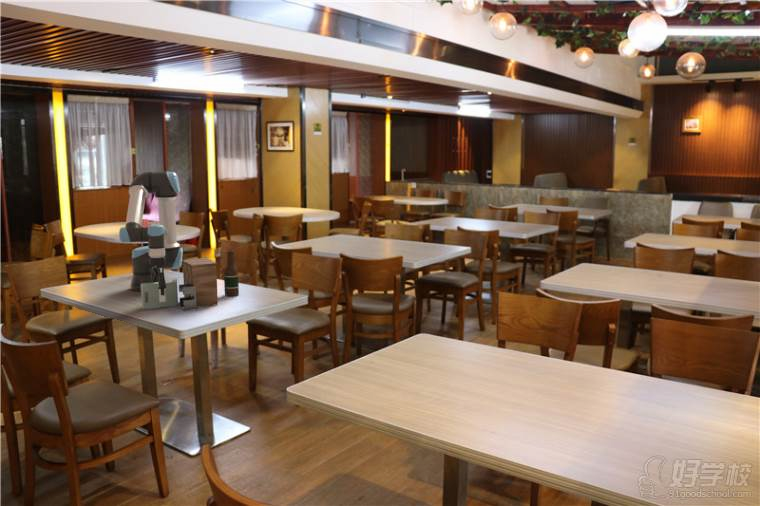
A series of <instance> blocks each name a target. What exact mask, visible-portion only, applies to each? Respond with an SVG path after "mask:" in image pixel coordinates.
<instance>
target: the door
mask: <svg viewBox="0 0 760 506" xmlns="http://www.w3.org/2000/svg"><path fill="white" fill-rule="evenodd" d="M165 283H166V288H165V300H166V301H165V302H159V289H158V287H159V284H158V282H153V283H143V284H141V291H140V295H141V297H140V298H141V299H140V300H141V301H140V302H141V309H143V310H149V309H159V308H160V309H161V308H167V307H175V306H176V307H177V306H178V305H179V295H178V292H179V291H178V279H177V278H172V280H165Z"/></svg>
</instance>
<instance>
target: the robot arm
mask: <svg viewBox="0 0 760 506" xmlns="http://www.w3.org/2000/svg"><path fill="white" fill-rule="evenodd" d="M180 191H181V189H180V181H179V177H178V175H177V173H176V172H175V171H144V172H142V173H140V174H138V175H137V176H136V177H134V178H133V180H132V182H131V183H130V185H129V187H128V194H129V201H128V207H127V213H126V222H125V226H122V227H120V228H119V230H118V231H119V232H118V235H119V241H120V242H122V243H129V244H130V243H141V242H142V243H148V245H146V246H144V245H143V247H142V246H140V247H136V248H133V250H132V251H131V262H132V269H133V273H132V278H131V281H130V286H129V287H130V290H131V291H134V292H136V291H137V292H141V284H143V283H153V282H158V284H159V287H158V289H159V302H165V301H166V300H165V288H166V283H165V281H166V277H165V270H178V269H180V268H181V266H182V265H183V262H182V260H183V254H184V253H183V252H184V249H183V247H180V245H181V244H180V243H178V242H177V241H178V240H177V225H176V224H177V223H176V222H177V221H176V206H175V205H176V203H175V199H176V198H178V194H180ZM149 194H154V197H155V199H157V205H158V223H159V224H152V225H149V226H148V227H141V226H142V220H143V217H144V210H145V203H146V198H147V197H148V195H149Z"/></svg>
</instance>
